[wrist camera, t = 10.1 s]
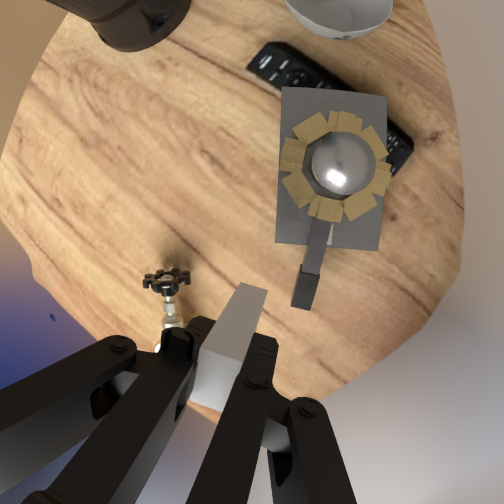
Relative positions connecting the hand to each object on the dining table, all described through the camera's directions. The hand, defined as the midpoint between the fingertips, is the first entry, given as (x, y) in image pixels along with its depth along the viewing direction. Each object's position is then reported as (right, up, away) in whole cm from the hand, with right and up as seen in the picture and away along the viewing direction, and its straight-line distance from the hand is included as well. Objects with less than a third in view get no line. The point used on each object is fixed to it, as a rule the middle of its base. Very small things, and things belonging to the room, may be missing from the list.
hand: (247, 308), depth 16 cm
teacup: (+11, +34, +13) cm, 38 cm away
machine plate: (+10, +13, +18) cm, 24 cm away
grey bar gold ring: (+8, +8, +16) cm, 20 cm away
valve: (-10, -5, +27) cm, 29 cm away
